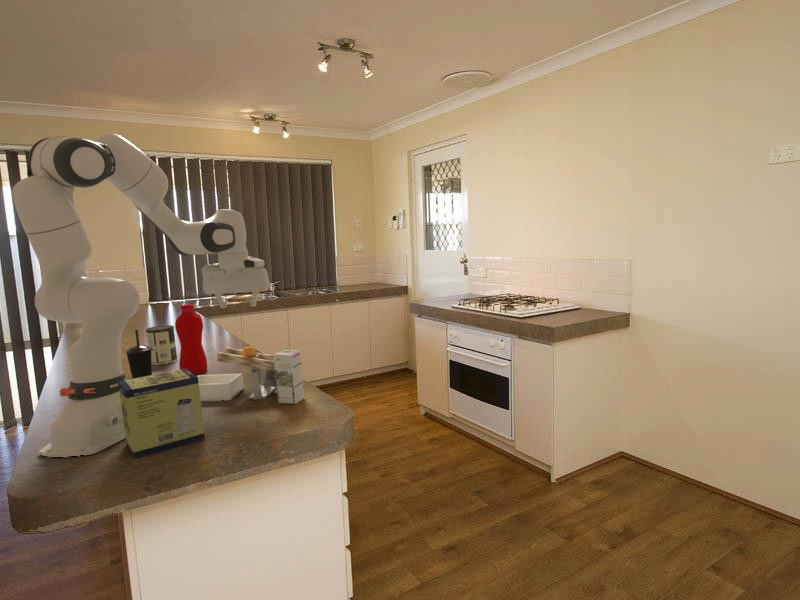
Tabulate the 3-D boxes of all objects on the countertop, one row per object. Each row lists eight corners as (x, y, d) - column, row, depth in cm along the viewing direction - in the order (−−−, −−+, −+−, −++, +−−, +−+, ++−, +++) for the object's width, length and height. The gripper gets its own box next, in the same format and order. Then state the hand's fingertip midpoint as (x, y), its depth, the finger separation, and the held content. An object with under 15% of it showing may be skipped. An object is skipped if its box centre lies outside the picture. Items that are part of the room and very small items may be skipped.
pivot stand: (265, 399, 145) (262, 366, 144) (248, 399, 146) (245, 367, 144) (276, 387, 157) (274, 356, 156) (261, 387, 157) (258, 357, 156)
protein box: (125, 445, 117) (116, 380, 115) (194, 427, 126) (187, 367, 124) (133, 459, 108) (124, 390, 106) (206, 439, 118) (199, 375, 116)
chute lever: (293, 374, 161) (296, 352, 160) (281, 388, 147) (284, 363, 146) (233, 364, 162) (235, 342, 161) (215, 377, 147) (217, 352, 146)
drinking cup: (125, 392, 160) (117, 331, 157) (146, 385, 166) (139, 327, 164) (140, 395, 156) (132, 332, 154) (161, 388, 163) (154, 328, 160)
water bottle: (213, 372, 179) (206, 304, 176) (180, 377, 175) (172, 307, 172) (212, 366, 188) (205, 301, 185) (181, 371, 184) (173, 304, 181)
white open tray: (230, 400, 146) (228, 383, 145) (184, 401, 147) (182, 385, 146) (243, 388, 157) (242, 373, 156) (200, 390, 158) (198, 375, 157)
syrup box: (304, 398, 144) (300, 349, 143) (295, 405, 139) (291, 354, 137) (287, 397, 146) (283, 349, 144) (276, 404, 140) (272, 354, 138)
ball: (252, 361, 148) (253, 348, 147) (239, 360, 148) (240, 347, 148) (257, 358, 152) (257, 345, 151) (244, 357, 152) (245, 344, 151)
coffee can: (167, 357, 208) (164, 324, 206) (183, 360, 202) (179, 325, 200) (144, 363, 199) (140, 329, 197) (159, 366, 194) (155, 330, 192)
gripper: (196, 265, 151) (201, 310, 153) (262, 261, 150) (267, 306, 152) (205, 263, 157) (210, 306, 159) (269, 260, 156) (273, 303, 158)
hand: (238, 306), depth 155 cm, fingers open, 8 cm apart
